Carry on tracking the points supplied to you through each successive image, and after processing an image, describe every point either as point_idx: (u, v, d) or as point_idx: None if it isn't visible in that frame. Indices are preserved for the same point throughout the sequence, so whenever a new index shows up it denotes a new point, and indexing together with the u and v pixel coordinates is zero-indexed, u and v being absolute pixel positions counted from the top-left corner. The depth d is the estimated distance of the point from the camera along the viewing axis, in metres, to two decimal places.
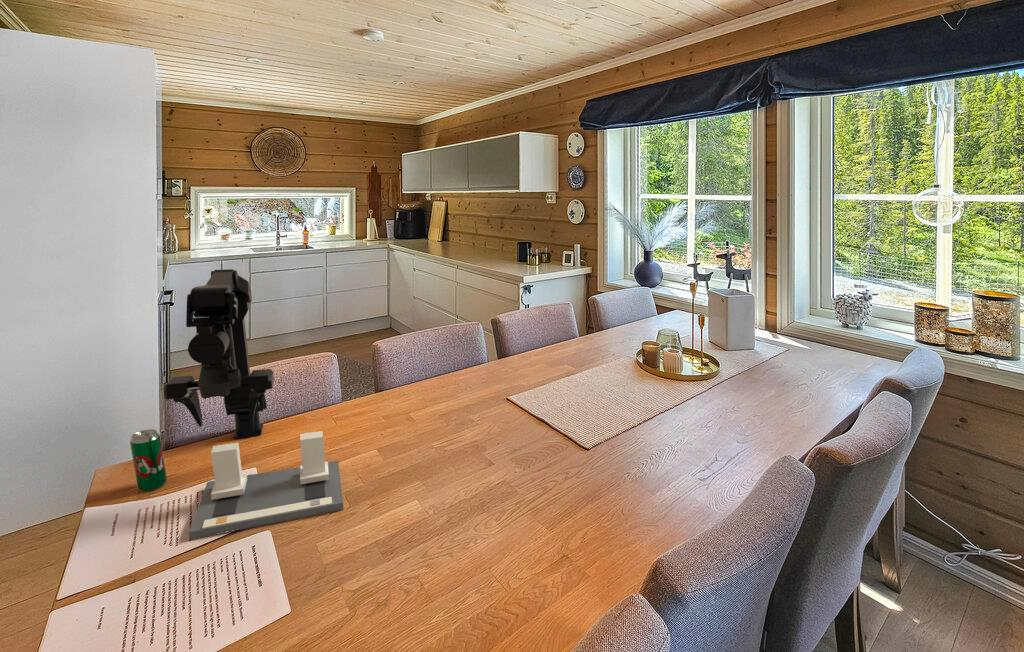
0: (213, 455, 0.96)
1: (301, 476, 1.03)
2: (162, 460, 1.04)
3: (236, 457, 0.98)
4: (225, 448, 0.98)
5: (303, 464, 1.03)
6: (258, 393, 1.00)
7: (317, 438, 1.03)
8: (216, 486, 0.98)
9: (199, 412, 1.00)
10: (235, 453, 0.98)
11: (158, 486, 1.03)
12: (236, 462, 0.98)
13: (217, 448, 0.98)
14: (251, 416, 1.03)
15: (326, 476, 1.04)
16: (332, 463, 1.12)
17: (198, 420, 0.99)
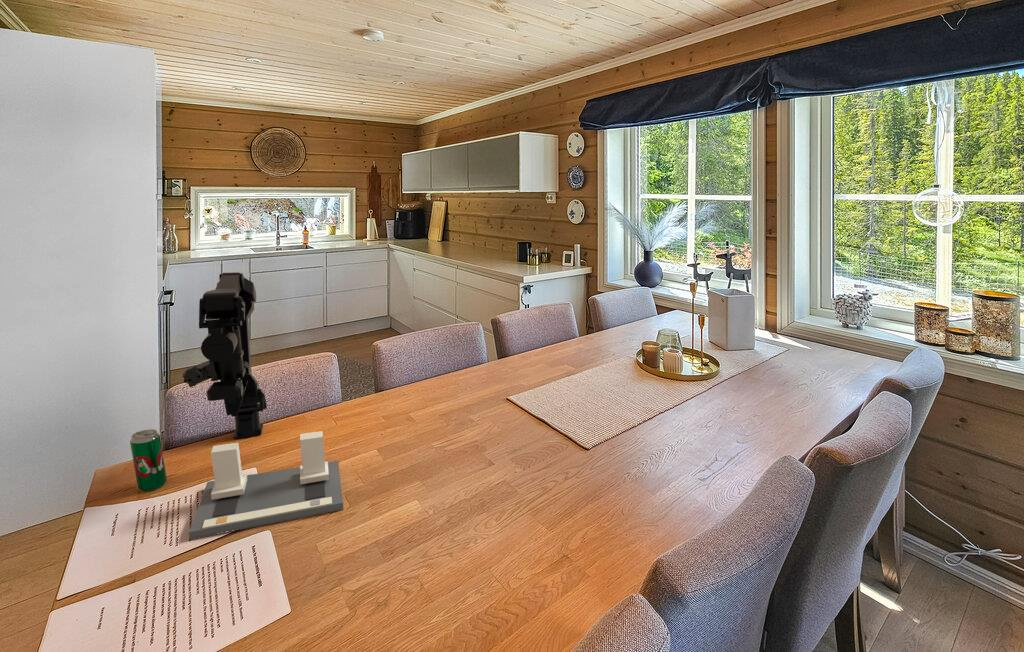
0: (213, 455, 0.96)
1: (301, 476, 1.03)
2: (162, 460, 1.04)
3: (236, 457, 0.98)
4: (225, 448, 0.98)
5: (303, 464, 1.03)
6: None
7: (317, 438, 1.03)
8: (216, 486, 0.98)
9: None
10: (235, 453, 0.98)
11: (158, 486, 1.03)
12: (236, 462, 0.98)
13: (217, 448, 0.98)
14: None
15: (326, 476, 1.04)
16: (332, 463, 1.12)
17: None
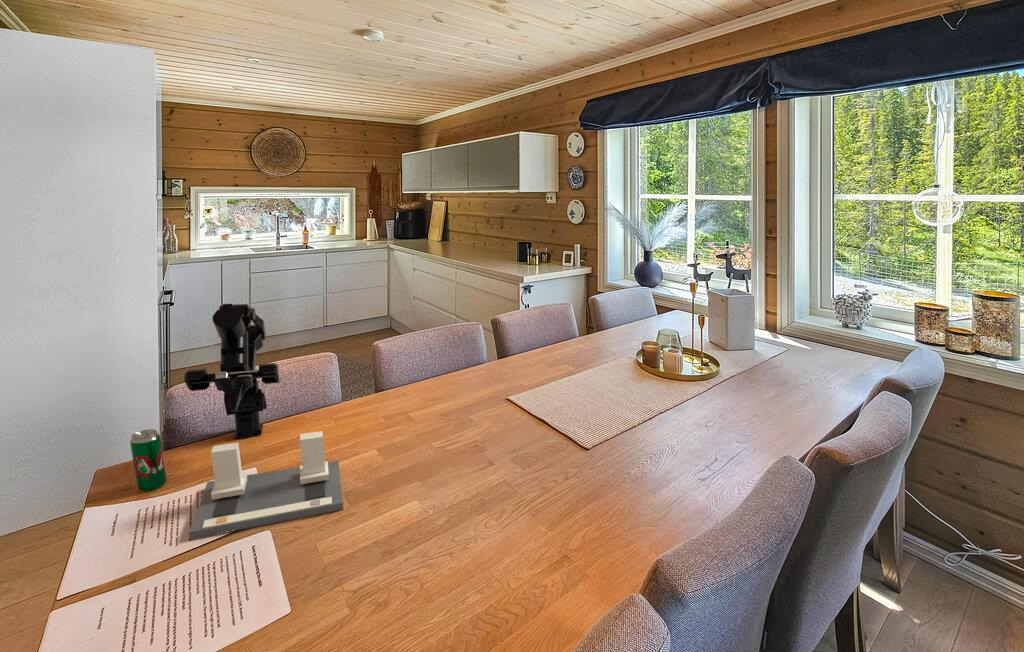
0: (213, 455, 0.96)
1: (301, 476, 1.03)
2: (162, 460, 1.04)
3: (236, 457, 0.98)
4: (225, 448, 0.98)
5: (303, 464, 1.03)
6: None
7: (317, 438, 1.03)
8: (216, 486, 0.98)
9: None
10: (235, 453, 0.98)
11: (158, 486, 1.03)
12: (236, 462, 0.98)
13: (217, 448, 0.98)
14: None
15: (326, 476, 1.04)
16: (332, 463, 1.12)
17: None
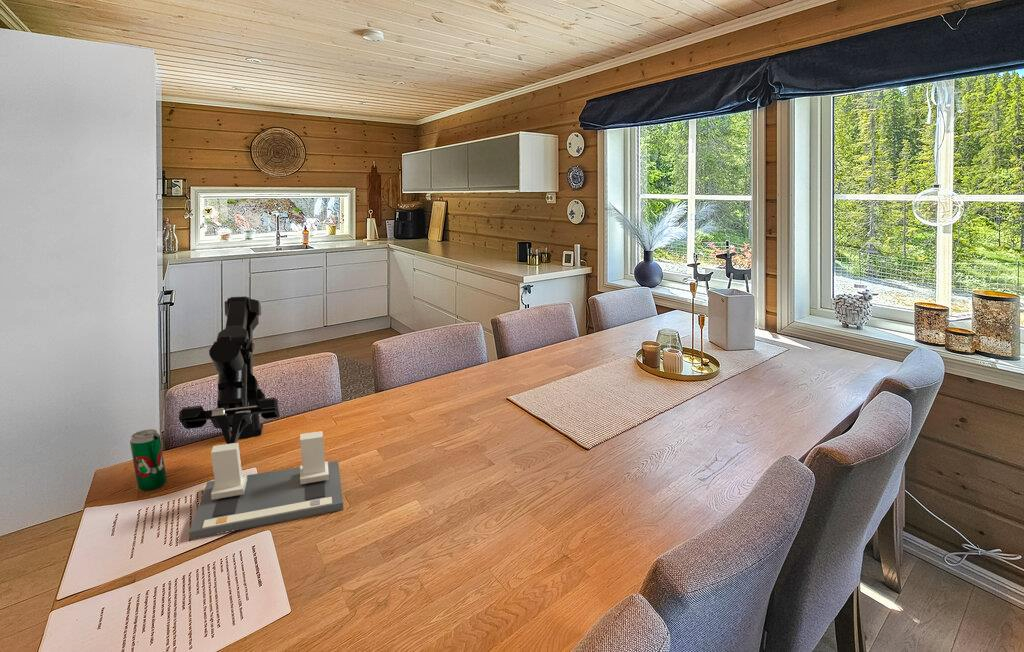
0: (213, 455, 0.96)
1: (301, 476, 1.03)
2: (162, 460, 1.04)
3: (236, 457, 0.98)
4: (225, 448, 0.98)
5: (303, 464, 1.03)
6: None
7: (317, 438, 1.03)
8: (216, 486, 0.98)
9: None
10: (235, 453, 0.98)
11: (158, 486, 1.03)
12: (236, 462, 0.98)
13: (217, 448, 0.98)
14: None
15: (326, 476, 1.04)
16: (332, 463, 1.12)
17: None
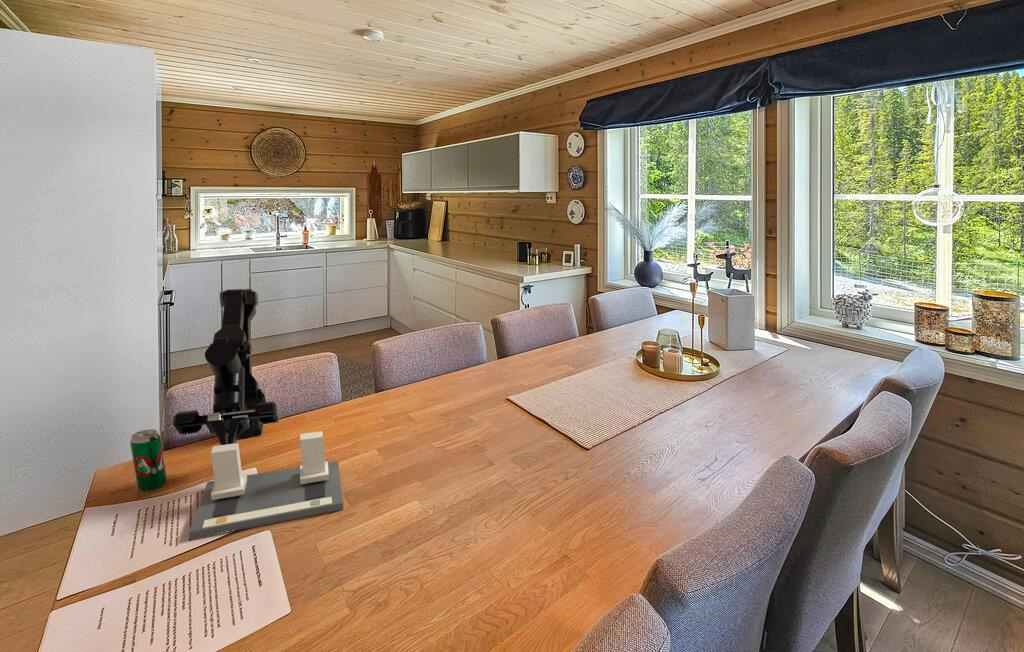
0: (213, 455, 0.96)
1: (301, 476, 1.03)
2: (162, 460, 1.04)
3: (236, 457, 0.98)
4: (225, 448, 0.98)
5: (303, 464, 1.03)
6: None
7: (317, 438, 1.03)
8: (216, 486, 0.98)
9: None
10: (235, 453, 0.98)
11: (158, 486, 1.03)
12: (236, 462, 0.98)
13: (217, 448, 0.98)
14: None
15: (326, 476, 1.04)
16: (332, 463, 1.12)
17: None
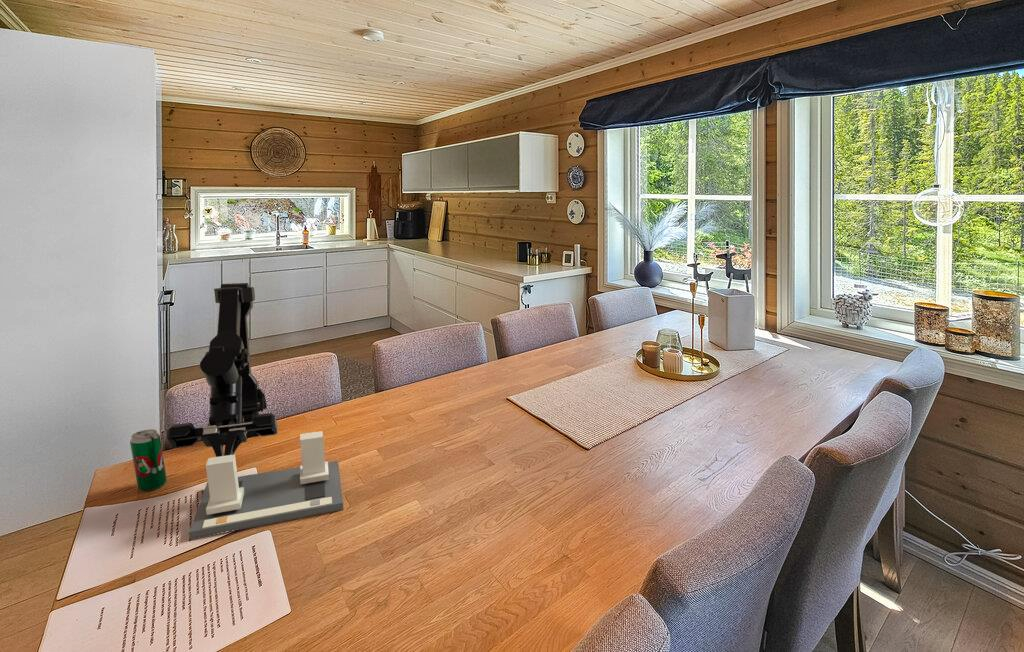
0: (208, 468, 0.92)
1: (301, 476, 1.03)
2: (162, 460, 1.04)
3: (232, 470, 0.93)
4: (220, 460, 0.93)
5: (303, 464, 1.03)
6: None
7: (317, 438, 1.03)
8: (211, 500, 0.93)
9: None
10: (231, 466, 0.93)
11: (158, 486, 1.03)
12: (232, 475, 0.93)
13: (212, 460, 0.93)
14: None
15: (326, 476, 1.04)
16: (332, 463, 1.12)
17: None
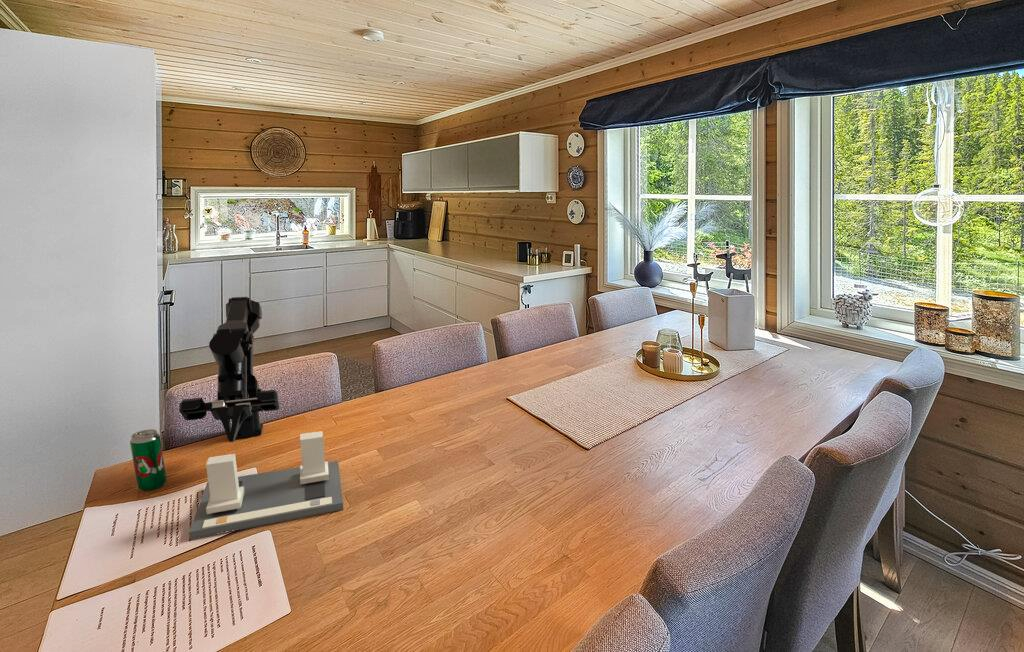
0: (208, 467, 0.92)
1: (301, 476, 1.03)
2: (162, 460, 1.04)
3: (233, 469, 0.93)
4: (221, 459, 0.93)
5: (303, 464, 1.03)
6: None
7: (317, 438, 1.03)
8: (212, 500, 0.93)
9: None
10: (231, 465, 0.93)
11: (158, 486, 1.03)
12: (233, 474, 0.94)
13: (213, 460, 0.93)
14: None
15: (326, 476, 1.04)
16: (332, 463, 1.12)
17: None
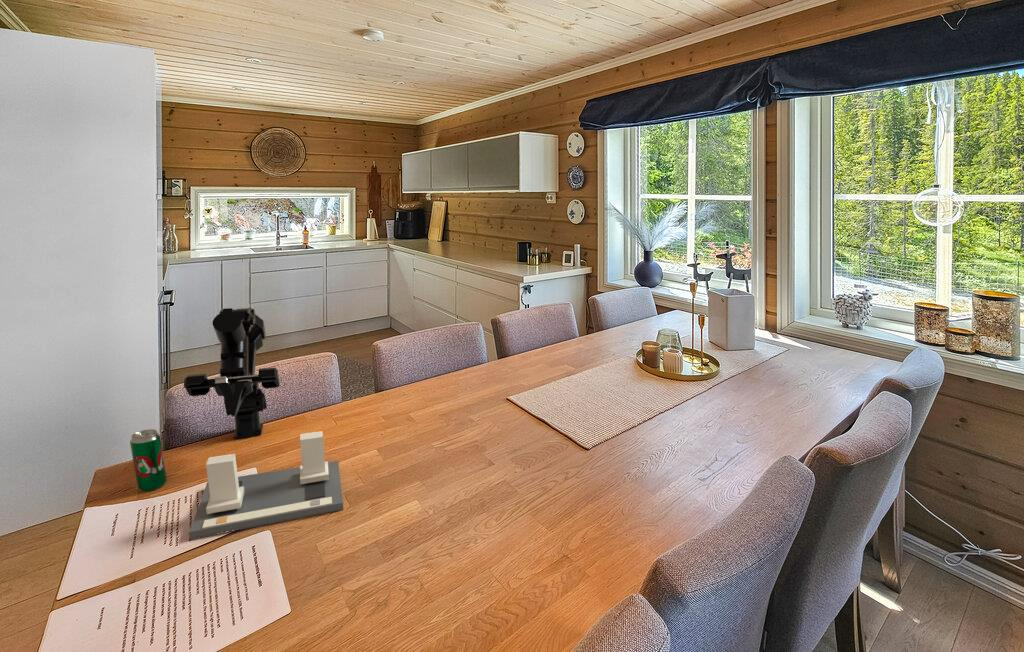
0: (208, 467, 0.92)
1: (301, 476, 1.03)
2: (162, 460, 1.04)
3: (233, 469, 0.93)
4: (221, 459, 0.93)
5: (303, 464, 1.03)
6: None
7: (317, 438, 1.03)
8: (212, 500, 0.93)
9: None
10: (231, 465, 0.93)
11: (158, 486, 1.03)
12: (233, 474, 0.94)
13: (213, 460, 0.93)
14: None
15: (326, 476, 1.04)
16: (332, 463, 1.12)
17: None
